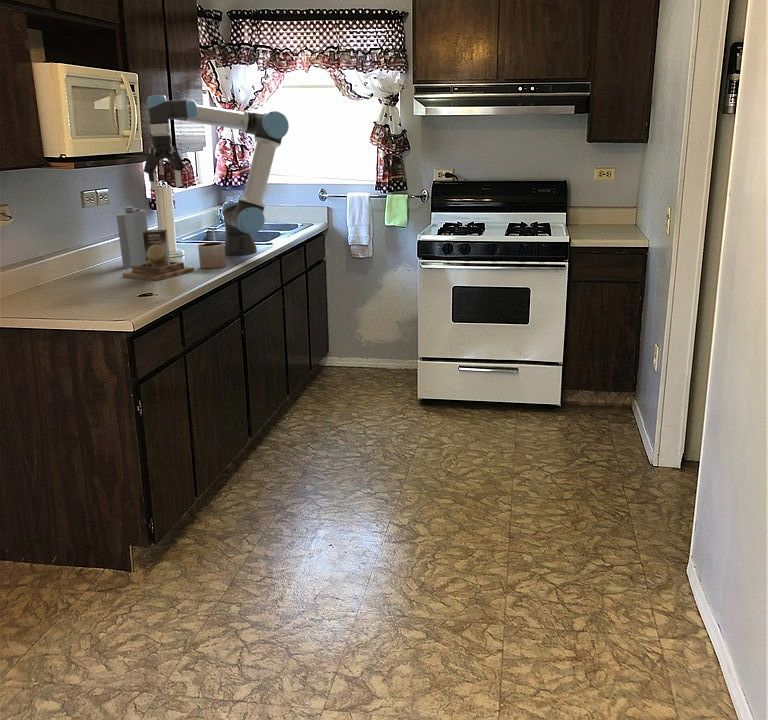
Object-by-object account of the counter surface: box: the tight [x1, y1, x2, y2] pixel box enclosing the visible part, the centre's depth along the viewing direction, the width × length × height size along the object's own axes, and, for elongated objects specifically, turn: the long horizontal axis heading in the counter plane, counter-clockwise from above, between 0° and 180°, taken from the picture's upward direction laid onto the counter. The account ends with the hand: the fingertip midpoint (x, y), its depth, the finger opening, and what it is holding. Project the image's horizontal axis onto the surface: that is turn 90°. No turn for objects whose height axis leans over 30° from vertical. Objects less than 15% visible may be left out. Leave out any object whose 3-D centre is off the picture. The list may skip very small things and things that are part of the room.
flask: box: [115, 206, 149, 269], centre depth 347 cm, size 17×5×25 cm, turn 161°
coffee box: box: [143, 229, 171, 268], centre depth 325 cm, size 9×6×16 cm
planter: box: [197, 241, 227, 270], centre depth 337 cm, size 11×11×10 cm
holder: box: [122, 260, 195, 282], centre depth 326 cm, size 20×20×4 cm
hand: (167, 188), depth 334 cm, fingers open, 13 cm apart
